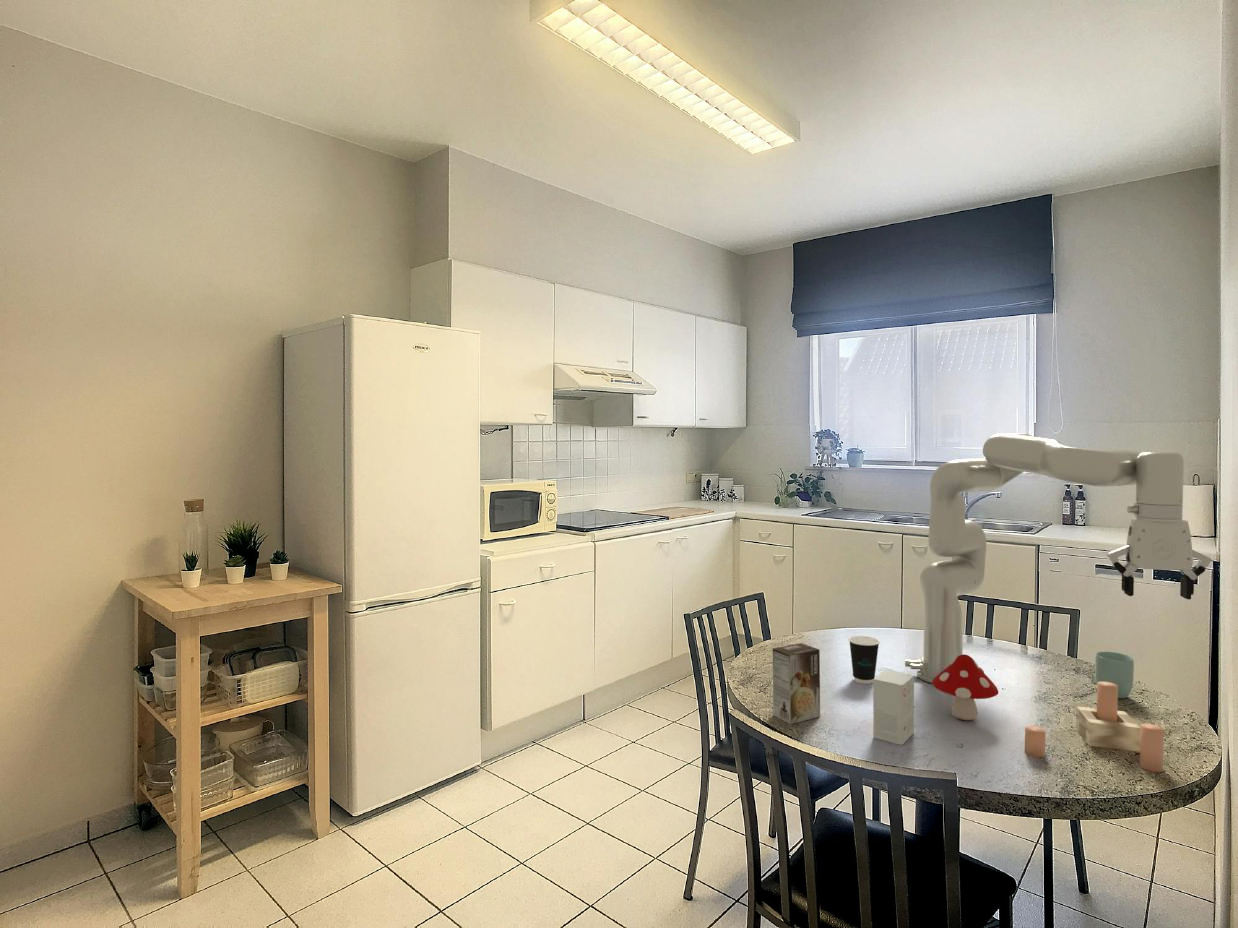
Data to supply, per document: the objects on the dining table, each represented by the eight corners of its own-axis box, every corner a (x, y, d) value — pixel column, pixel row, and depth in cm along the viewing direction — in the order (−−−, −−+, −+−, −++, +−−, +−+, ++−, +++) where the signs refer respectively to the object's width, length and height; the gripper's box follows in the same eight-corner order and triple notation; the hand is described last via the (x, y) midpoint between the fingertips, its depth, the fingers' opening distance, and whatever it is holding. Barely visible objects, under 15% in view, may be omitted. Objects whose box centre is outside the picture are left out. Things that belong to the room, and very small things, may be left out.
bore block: (1088, 745, 145) (1089, 722, 145) (1076, 728, 153) (1076, 706, 153) (1139, 751, 142) (1140, 727, 142) (1124, 733, 150) (1124, 711, 150)
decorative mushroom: (970, 704, 168) (971, 643, 167) (1014, 727, 154) (1015, 661, 154) (919, 709, 165) (919, 647, 164) (959, 733, 151) (959, 666, 151)
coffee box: (801, 707, 166) (801, 642, 166) (820, 717, 161) (821, 649, 160) (771, 715, 162) (771, 647, 161) (790, 725, 156) (790, 655, 156)
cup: (1139, 702, 168) (1140, 661, 168) (1103, 700, 170) (1104, 660, 169) (1123, 690, 176) (1123, 652, 175) (1089, 688, 177) (1089, 650, 177)
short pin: (1026, 755, 141) (1027, 731, 140) (1022, 748, 144) (1023, 724, 144) (1047, 758, 139) (1047, 734, 139) (1042, 750, 143) (1043, 727, 143)
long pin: (1099, 741, 147) (1100, 686, 146) (1093, 735, 150) (1094, 680, 150) (1119, 744, 145) (1120, 688, 145) (1113, 737, 149) (1114, 682, 148)
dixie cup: (862, 687, 179) (863, 645, 179) (841, 677, 187) (842, 637, 186) (886, 682, 183) (886, 641, 182) (864, 673, 190) (865, 634, 189)
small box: (885, 725, 156) (885, 668, 155) (914, 733, 152) (915, 674, 151) (872, 737, 150) (872, 678, 149) (902, 745, 145) (902, 685, 145)
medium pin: (1145, 770, 134) (1145, 730, 134) (1136, 762, 137) (1136, 722, 137) (1167, 772, 133) (1167, 731, 133) (1157, 764, 136) (1157, 724, 136)
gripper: (1114, 513, 139) (1113, 597, 140) (1220, 515, 133) (1218, 603, 134) (1102, 509, 146) (1100, 589, 147) (1202, 511, 140) (1200, 595, 141)
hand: (1156, 596), depth 140 cm, fingers open, 9 cm apart
